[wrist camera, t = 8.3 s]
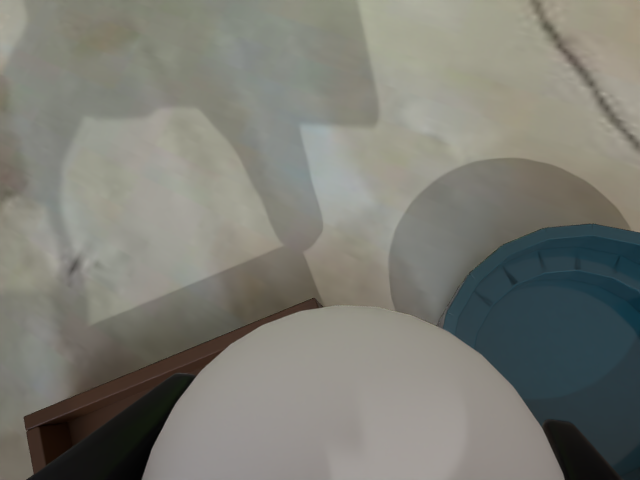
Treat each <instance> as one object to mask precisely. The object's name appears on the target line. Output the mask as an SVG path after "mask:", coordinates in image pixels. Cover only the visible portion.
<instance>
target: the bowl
mask: <svg viewBox="0 0 640 480" xmlns="http://www.w3.org/2000/svg"><path fill="white" fill-rule="evenodd" d="M437 327H439V328H442V329H444V330H446V331H448V332H450V333H451V334H452V335H454V336H455V337H457V338H458V339H460V340H461V341H463V342H464V343H465V344H467V345H468V346H470V347H471V348H473V349H474V350H475V351H477V352H478V353H480V354H481V355H482V356H483V357H484V358H485V359H486V360H487V361H488V362H489V363H490V364H491V365H492V366H493V367H494V368H495V369H496V370H497V371H498V372H499V373H500V374H501V375H502V376H503V377H504V378H505V379H506V380H507V381H508V382H509V383H510V384H511V385H512V386H513V387H514V388H515V390H516V391H517V392H518V394H519V395H520V397H521V398H522V400H523V401H524V403H525V404H526V405H527V407H528V408H529V410H530V411H531V413H532V414H533V416H534V417H535V418H536V420H537V421H538V423H539V424H540V426H541V427H542V424H543V422H544V421H545V420H546V419H555V420H563V421H569V422H571V423H573V424H574V425H575V426H576V427H577V428H578V429H579V430H580V432H581V433H582V434H583V435H584V436H585V437H586V438H587V439H588V441H589V442H590V443H591V444H592V445H593V446H594V447H595V448H596V450H597V451H598V452H599V453H600V454H601V455H602V456H603V457H604V458H605V460H606V461H607V462H608V463H609V464H610V465H611V466H612V467H613V469H614V470H615V471H616V472H617V473H618V474H619V475H620V476H621V478H622V479H623V480H640V233H639V232H634V231H629V230H623V229H618V228H613V227H608V226H603V225H597V224H581V225H570V226H559V227H547V228H542V229H540V230H537V231H535V232H533V233H530V234H528V235H525V236H523V237H520V238H518V239H515V240H513V241H511V242H508V243H506V244H503V245H502V246H500V247H499V248H498V249H497V250H496V251H494V252H493V253H492V254H491V255H490V256H489V257H488V258H486V259H485V260H484V261H483V262H482V263H481V264H479V265H478V266H477V267H476V268H475V269H474V270H472V271H471V272H470V273H469V274H468V275H467V277H466V278H465V279H464V281H463V282H462V284H461V285H460V286H459V288H458V289H457V291H456V292H455V294H454V296H453V297H452V299H451V301H450V303H449V304H448V306H447V308H446V309H445V311H444V313H443V315H442V316H441V318H440V320H439V323H438V325H437Z"/></svg>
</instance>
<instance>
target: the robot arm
mask: <svg viewBox="0 0 640 480" xmlns="http://www.w3.org/2000/svg"><path fill="white" fill-rule="evenodd" d="M195 378H196V375H194V374H187V373H175V374H173V375H171V376H170V377H169V378H167V379H166V380H165V381H163V382H162V383H160V384H159V385H158V386H156V387H155V388H153V389H152V390H151V391H149V392H148V393H146V394H145V395H144V396H142V397H141V398H139V399H138V400H137V401H135V402H134V403H133V404H131V405H130V406H128V407H127V408H126V409H124V410H123V411H121V412H120V413H119V414H117V415H116V416H114V417H113V418H112V419H110V420H109V421H107V422H106V423H105V424H103V425H102V426H101V427H99V428H98V429H96V430H95V431H94V432H92V433H91V434H89V435H88V436H87V437H85V438H84V439H82V440H81V441H80V442H78V443H77V444H76V445H74V446H73V447H71V448H70V449H69V450H67V451H66V452H64V453H63V454H62V455H60V456H59V457H57V458H56V459H55V460H53V461H52V462H50V463H49V464H48V465H46V466H45V467H44V468H42V469H41V470H39V471H38V472H37V473H35V474H34V475H32V476H31V477H30V478H28V479H27V480H142V477H143V474H144V471H145V468H146V465H147V462H148V459H149V456H150V453H151V450H152V447H153V445H154V444H155V442H156V440H157V438H158V436H159V434H160V432H161V430H162V428H163V426H164V424H165V423H166V421H167V419H168V417H169V415H170V413H171V411H172V409H173V408H174V406H175V404H176V402H177V401H178V400H179V398H180V397H181V396H182V395H183V393H184V392H185V391H186V389H187V388H188V387H189V386H190V384H191V383H192V382H193V380H194V379H195ZM542 429H543V431H544V433H545V435H546V437H547V440H548V442H549V444H550V446H551V448H552V450H553V453H554V455H555V457H556V459H557V461H558V464H559V466H560V468H561V470H562V472H563V475H564V479H565V480H623V479H622V478H621V476H620V475H619V474H618V473H617V472H616V471H615V470H614V469H613V467H612V466H611V465H610V464H609V463H608V462H607V461H606V460H605V458H604V457H603V456H602V455H601V454H600V453H599V452H598V451H597V450H596V448H595V447H594V446H593V445H592V444H591V443H590V442H589V441H588V439H587V438H586V437H585V436H584V435H583V434H582V433H581V432H580V430H579V429H578V428H577V427H576V426H575V425H574V424H573V423H571V422H569V421H563V420H555V419H546V420H545V421H544V422H543V424H542Z"/></svg>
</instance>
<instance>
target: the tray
mask: <svg viewBox="0 0 640 480" xmlns="http://www.w3.org/2000/svg"><path fill="white" fill-rule="evenodd" d="M317 308H323V307H322V305H321V304H320V303H319V302H318V301H317V300H316V299H315V298H312V299H309V300H307V301H305V302H302V303H300V304H297V305H295V306H292V307H290V308H288V309H285V310H283V311H280V312H278V313H275V314H273V315H270V316H268V317H266V318H263V319H261V320H258V321H256V322H253V323H251V324H249V325H246V326H244V327H241V328H239V329H236V330H234V331H231V332H229V333H227V334H224V335H222V336H219V337H217V338H214V339H212V340H210V341H207V342H205V343H202V344H200V345H197V346H195V347H192V348H190V349H188V350H185V351H183V352H180V353H178V354H175V355H173V356H171V357H168V358H166V359H163V360H161V361H158V362H156V363H153V364H151V365H149V366H146V367H144V368H141V369H139V370H136V371H134V372H132V373H129V374H127V375H124V376H122V377H119V378H117V379H114V380H112V381H110V382H107V383H105V384H102V385H100V386H97V387H95V388H93V389H90V390H88V391H85V392H83V393H80V394H78V395H75V396H73V397H71V398H68V399H66V400H63V401H61V402H58V403H56V404H54V405H51V406H49V407H46V408H44V409H41V410H39V411H36V412H34V413H32V414H29V415H27V416H25V417H24V422H25V428H26V430H28V431H27V432H26V433H27V439H28V444H29V450H30V455H31V461H32V466H33V472H34V474H35V473H37V472H38V471H39V470H41V469H42V468H44V467H45V466H46V465H48V464H49V463H50V462H52V461H53V460H55V459H56V458H57V457H59V456H60V455H62V454H63V453H64V452H66V451H67V450H69V449H70V448H71V447H73V446H74V445H76V444H77V443H78V442H80V441H81V440H82V439H84V438H85V437H87V436H88V435H89V434H91V433H92V432H94V431H95V430H96V429H98V428H99V427H101V426H102V425H103V424H105V423H106V422H107V421H109V420H110V419H112V418H113V417H114V416H116V415H117V414H119V413H120V412H121V411H123V410H124V409H126V408H127V407H128V406H130V405H131V404H133V403H134V402H135V401H137V400H138V399H139V398H141V397H142V396H144V395H145V394H146V393H148V392H149V391H151V390H152V389H153V388H155V387H156V386H158V385H159V384H160V383H162V382H163V381H165V380H166V379H167V378H169V377H170V376H171V375H173V374H175V373H187V374H194V375H196V376H197V375H198V374H199V373H200V371H201V370H202V369H203V368H205V367H206V366H207V365H208V364H209V363H210V362H211V361H212V360H213V359H215V358H216V357H217V356H218V355H219V354H220V353H221V352H222V351H224V350H225V349H226V348H227V347H228V346H229V345H230V344H232V343H234V342H235V341H237V340H239V339H240V338H242V337H244V336H245V335H247V334H248V333H250V332H252V331H253V330H255V329H257V328H258V327H260V326H262V325H264V324H267V323H269V322H272V321H275V320H277V319H280V318H283V317H286V316H288V315H291V314H294V313H297V312H300V311H304V310H311V309H317Z"/></svg>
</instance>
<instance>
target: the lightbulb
mask: <svg viewBox="0 0 640 480" xmlns="http://www.w3.org/2000/svg"><path fill="white" fill-rule="evenodd" d="M142 480H565V479H564V475H563V472H562V470H561V468H560V466H559V464H558V461H557V459H556V457H555V455H554V453H553V450H552V448H551V446H550V444H549V442H548V440H547V437H546V435H545V433H544V431H543V429H542V427H541V426H540V424H539V423H538V421H537V420H536V418H535V417H534V416H533V414H532V413H531V411H530V410H529V408H528V407H527V405H526V404H525V403H524V401H523V400H522V398H521V397H520V395H519V394H518V392H517V391H516V390H515V388H514V387H513V386H512V385H511V384H510V383H509V382H508V381H507V380H506V379H505V378H504V377H503V376H502V375H501V374H500V373H499V372H498V371H497V370H496V369H495V368H494V367H493V366H492V365H491V364H490V363H489V362H488V361H487V360H486V359H485V358H484V357H483V356H482V355H481V354H480V353H478V352H477V351H475V350H474V349H473V348H471V347H470V346H468V345H467V344H465V343H464V342H463V341H461V340H460V339H458V338H457V337H455V336H454V335H452V334H451V333H450V332H448V331H446V330H444V329H442V328H439V327H437V326H435V325H433V324H430V323H428V322H426V321H424V320H421V319H419V318H417V317H415V316H413V315H409V314H405V313H400V312H396V311H392V310H388V309H383V308H379V307H374V306H348V305H336V306H330V307H323V308H317V309H311V310H304V311H300V312H297V313H294V314H291V315H288V316H286V317H283V318H280V319H277V320H275V321H272V322H269V323H267V324H264V325H262V326H260V327H258V328H257V329H255V330H253V331H252V332H250V333H248V334H247V335H245V336H244V337H242V338H240V339H239V340H237V341H235V342H234V343H232V344H230V345H229V346H228V347H227V348H226V349H225V350H224V351H222V352H221V353H220V354H219V355H218V356H217V357H216V358H215V359H213V360H212V361H211V362H210V363H209V364H208V365H207V366H206V367H205V368H203V369H202V370H201V371H200V373H199V374H198V375H197V376H196V378H195V379H194V380H193V382H192V383H191V384H190V386H189V387H188V388H187V389H186V391H185V392H184V393H183V395H182V396H181V397H180V398H179V400H178V401H177V402H176V404H175V406H174V408H173V409H172V411H171V413H170V415H169V417H168V419H167V421H166V423H165V424H164V426H163V428H162V430H161V432H160V434H159V436H158V438H157V440H156V442H155V444H154V445H153V447H152V450H151V453H150V456H149V459H148V462H147V465H146V468H145V471H144V474H143V477H142Z"/></svg>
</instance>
